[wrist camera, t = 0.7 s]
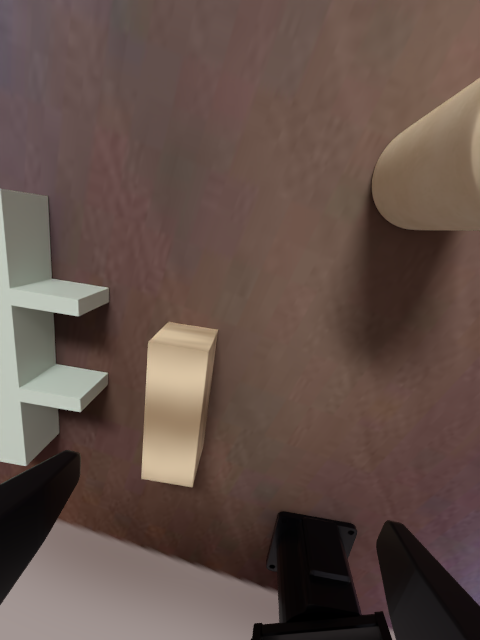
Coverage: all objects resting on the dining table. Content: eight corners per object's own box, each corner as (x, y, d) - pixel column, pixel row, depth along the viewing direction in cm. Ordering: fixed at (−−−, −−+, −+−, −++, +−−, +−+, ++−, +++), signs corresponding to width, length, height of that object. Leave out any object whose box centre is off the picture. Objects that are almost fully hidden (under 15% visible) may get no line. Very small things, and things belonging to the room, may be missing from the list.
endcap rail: (107, 441, 24) (81, 476, 20) (23, 426, 24) (-16, 458, 21) (110, 205, 18) (76, 200, 15) (1, 189, 18) (-56, 180, 15)
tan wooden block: (203, 445, 23) (192, 487, 20) (160, 438, 24) (141, 478, 20) (218, 328, 20) (208, 351, 17) (169, 321, 21) (148, 342, 17)
